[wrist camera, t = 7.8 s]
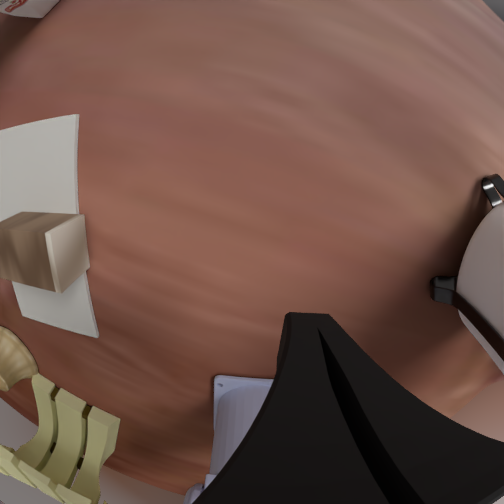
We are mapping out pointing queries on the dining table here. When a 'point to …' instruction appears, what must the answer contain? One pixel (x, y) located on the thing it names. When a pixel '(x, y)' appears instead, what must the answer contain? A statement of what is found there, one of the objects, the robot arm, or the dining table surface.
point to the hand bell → (14, 360)
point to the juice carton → (27, 7)
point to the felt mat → (45, 209)
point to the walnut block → (43, 249)
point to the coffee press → (481, 278)
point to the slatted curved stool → (63, 446)
